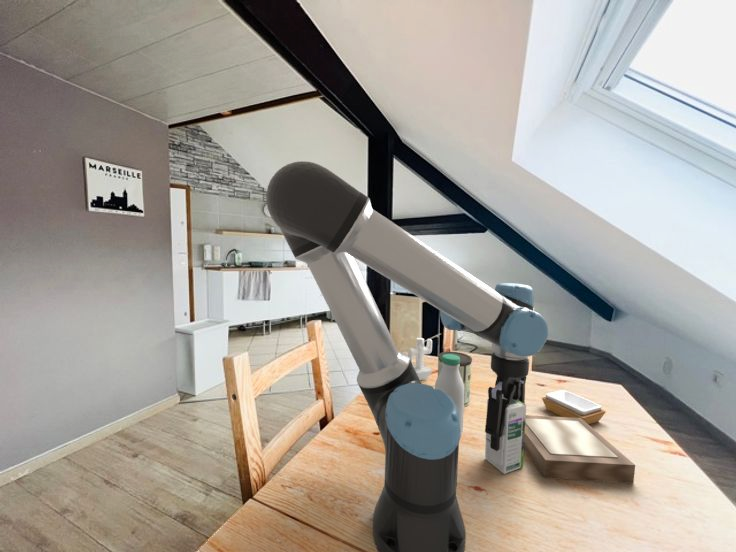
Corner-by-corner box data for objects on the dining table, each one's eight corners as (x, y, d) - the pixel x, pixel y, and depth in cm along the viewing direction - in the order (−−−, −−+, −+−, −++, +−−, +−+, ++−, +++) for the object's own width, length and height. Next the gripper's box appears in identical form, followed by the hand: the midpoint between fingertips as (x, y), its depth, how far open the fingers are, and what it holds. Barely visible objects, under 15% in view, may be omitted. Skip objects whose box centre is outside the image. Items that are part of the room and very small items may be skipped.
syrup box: (504, 475, 66) (508, 409, 65) (483, 458, 71) (487, 397, 70) (523, 468, 68) (527, 404, 67) (501, 451, 74) (505, 392, 72)
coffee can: (435, 390, 105) (437, 350, 104) (467, 394, 103) (469, 352, 102) (436, 406, 95) (438, 361, 94) (472, 409, 93) (474, 364, 92)
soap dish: (605, 423, 87) (606, 406, 87) (582, 431, 84) (584, 413, 83) (562, 403, 99) (563, 387, 98) (540, 408, 95) (541, 392, 94)
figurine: (403, 375, 117) (404, 336, 116) (425, 372, 120) (426, 334, 119) (412, 383, 110) (413, 342, 109) (435, 380, 114) (436, 340, 112)
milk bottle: (464, 440, 78) (468, 362, 76) (432, 436, 79) (435, 360, 78) (461, 423, 85) (464, 352, 84) (432, 420, 87) (435, 350, 85)
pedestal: (544, 477, 66) (545, 459, 65) (510, 428, 83) (511, 413, 83) (633, 483, 65) (635, 464, 64) (579, 432, 82) (580, 417, 82)
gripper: (506, 371, 58) (499, 485, 60) (545, 349, 71) (538, 444, 74) (470, 359, 64) (464, 465, 66) (512, 342, 77) (506, 430, 79)
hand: (503, 454), depth 70 cm, fingers closed on syrup box, 7 cm apart
